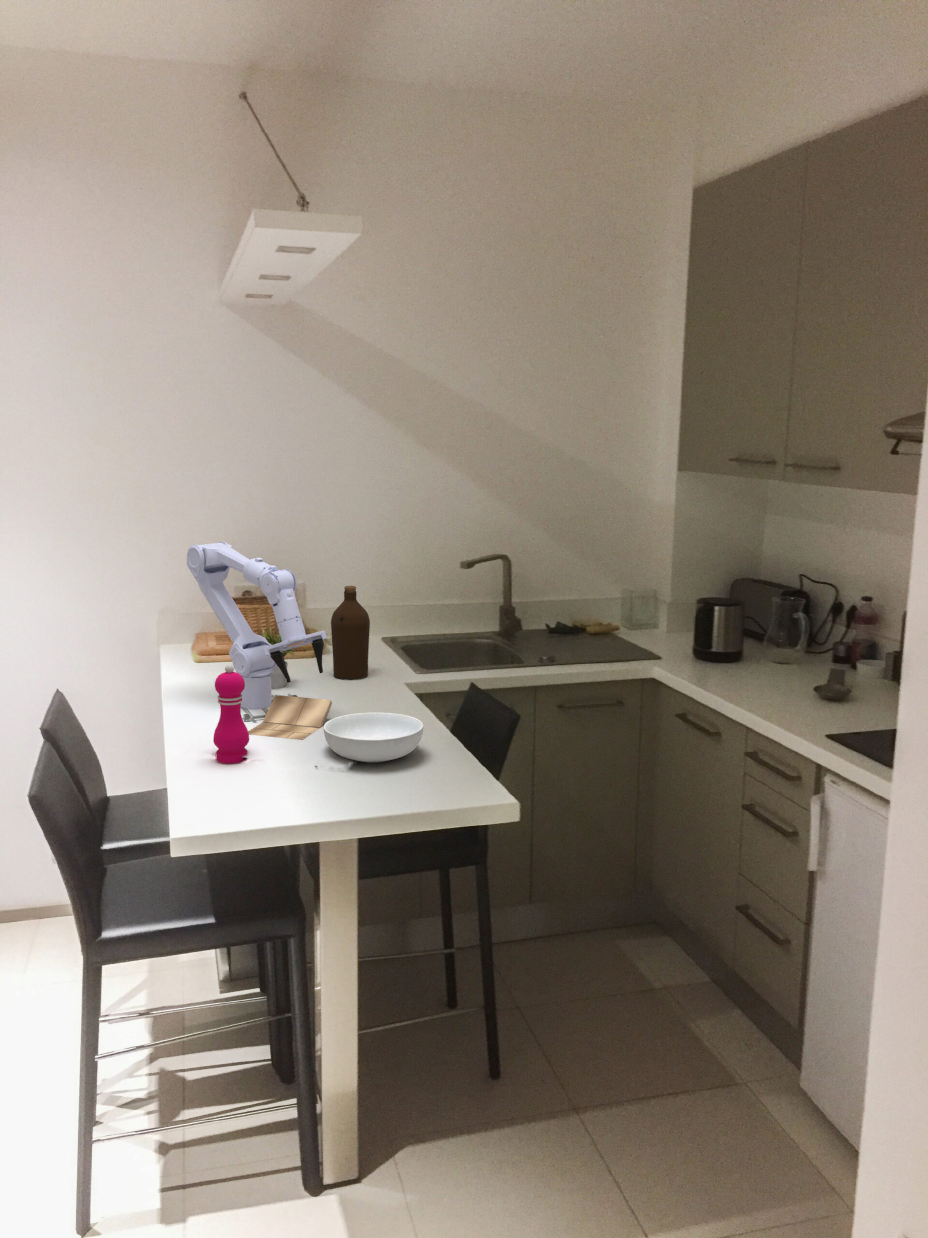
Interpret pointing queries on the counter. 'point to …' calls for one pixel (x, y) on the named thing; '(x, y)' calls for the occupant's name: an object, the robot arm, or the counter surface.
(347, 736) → the serving bowl
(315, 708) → the click plank
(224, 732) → the pepper mill
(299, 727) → the laid floor boards
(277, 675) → the house plant
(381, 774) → the counter surface
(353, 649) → the olive oil
